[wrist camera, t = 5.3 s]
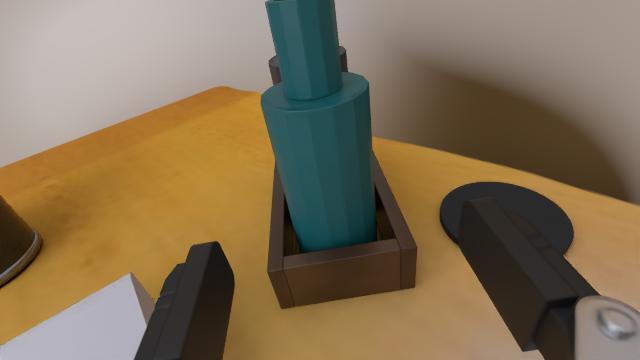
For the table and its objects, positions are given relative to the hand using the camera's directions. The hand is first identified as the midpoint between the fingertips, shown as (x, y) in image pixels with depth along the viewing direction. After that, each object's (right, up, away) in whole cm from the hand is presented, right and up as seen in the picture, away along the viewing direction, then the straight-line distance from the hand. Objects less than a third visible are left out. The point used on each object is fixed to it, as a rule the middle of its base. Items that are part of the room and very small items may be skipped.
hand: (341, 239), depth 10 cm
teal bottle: (+1, -3, +14) cm, 15 cm away
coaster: (+14, -1, +14) cm, 20 cm away
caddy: (0, -1, +18) cm, 18 cm away
